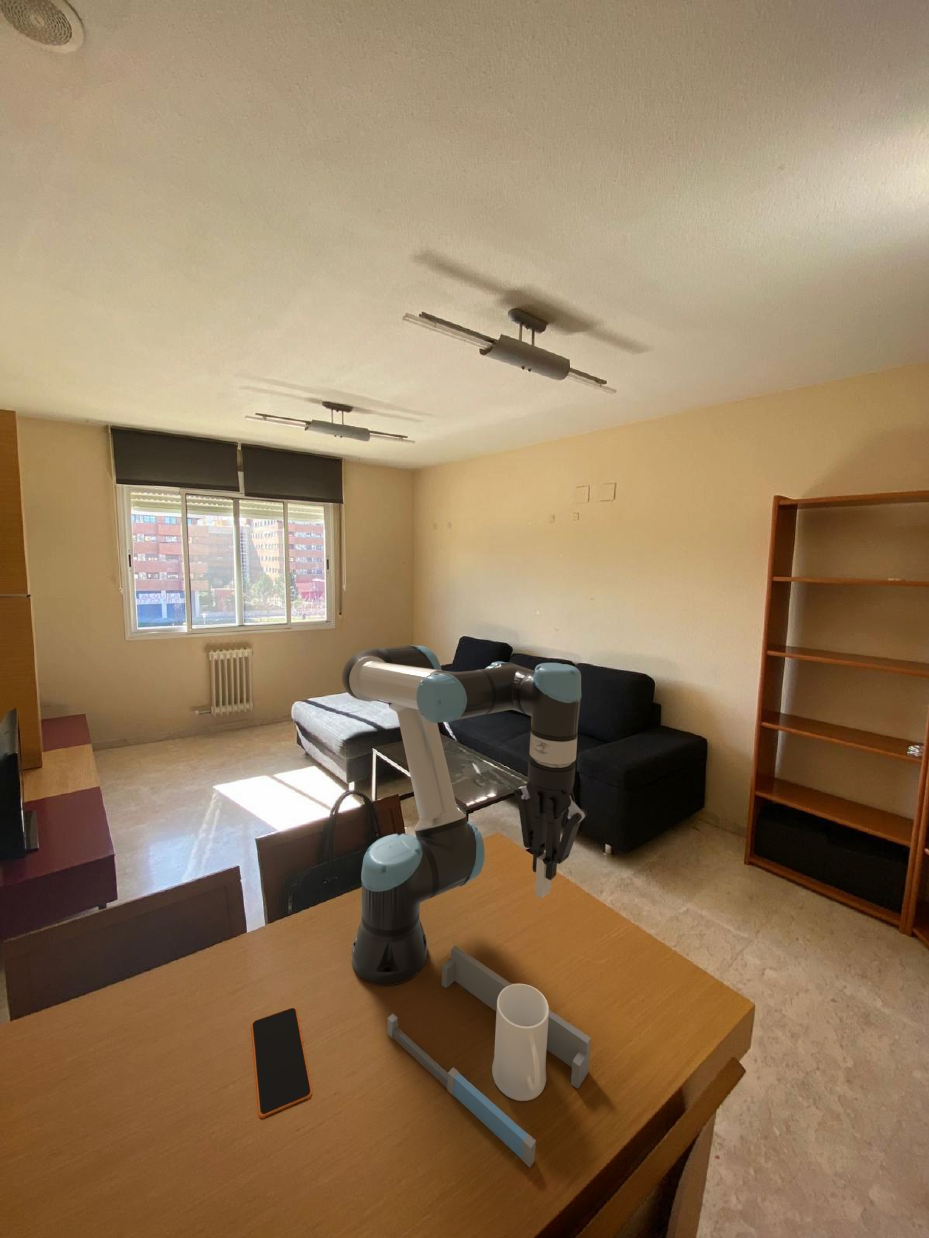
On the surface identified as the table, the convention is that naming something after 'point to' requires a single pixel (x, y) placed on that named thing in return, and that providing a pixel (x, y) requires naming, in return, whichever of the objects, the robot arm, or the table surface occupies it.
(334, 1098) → the table surface
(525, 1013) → the mug
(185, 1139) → the table surface
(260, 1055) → the smartphone
